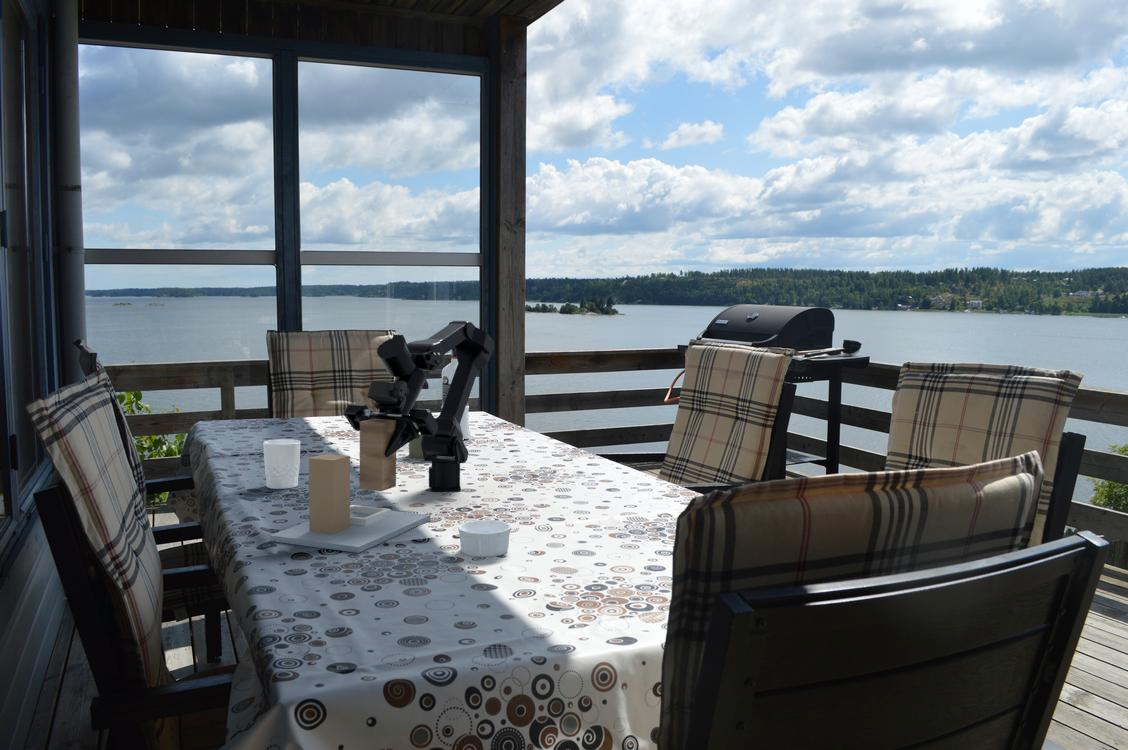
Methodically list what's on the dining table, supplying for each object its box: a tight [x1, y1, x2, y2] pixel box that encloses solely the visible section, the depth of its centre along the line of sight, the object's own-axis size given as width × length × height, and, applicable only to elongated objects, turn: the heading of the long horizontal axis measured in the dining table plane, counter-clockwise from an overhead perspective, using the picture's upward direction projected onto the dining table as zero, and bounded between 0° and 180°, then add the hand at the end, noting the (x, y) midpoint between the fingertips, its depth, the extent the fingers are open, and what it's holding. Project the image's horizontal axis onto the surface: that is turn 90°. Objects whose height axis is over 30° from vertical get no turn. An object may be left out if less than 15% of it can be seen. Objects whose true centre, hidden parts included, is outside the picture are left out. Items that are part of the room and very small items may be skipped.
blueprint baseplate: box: [269, 453, 431, 554], centre depth 159 cm, size 24×18×14 cm
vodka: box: [441, 348, 471, 441], centre depth 266 cm, size 9×9×30 cm
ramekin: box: [457, 519, 512, 558], centre depth 148 cm, size 9×9×4 cm
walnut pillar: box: [358, 419, 397, 492], centre depth 170 cm, size 5×5×13 cm
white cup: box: [262, 438, 301, 490], centre depth 196 cm, size 8×8×10 cm
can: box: [408, 432, 424, 461], centre depth 237 cm, size 12×12×7 cm
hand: (374, 454), depth 168 cm, fingers closed on walnut pillar, 5 cm apart
